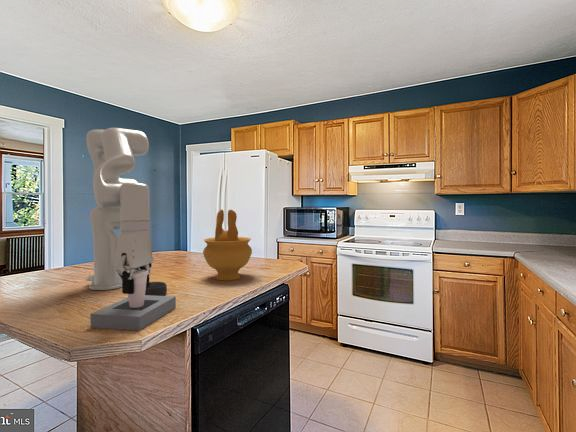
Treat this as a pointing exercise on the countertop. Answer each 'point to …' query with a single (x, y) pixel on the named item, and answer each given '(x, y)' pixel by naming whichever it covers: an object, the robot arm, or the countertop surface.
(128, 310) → the socket block
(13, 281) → the countertop surface
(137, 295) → the smoothie
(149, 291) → the smart speaker
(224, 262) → the decorative bowl
